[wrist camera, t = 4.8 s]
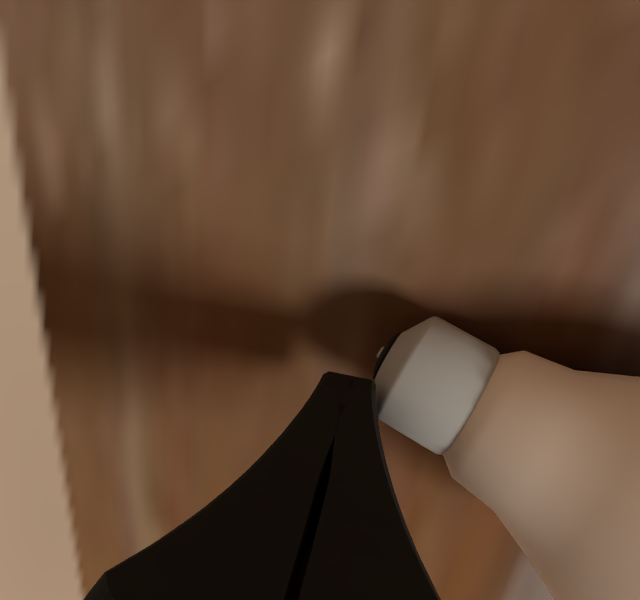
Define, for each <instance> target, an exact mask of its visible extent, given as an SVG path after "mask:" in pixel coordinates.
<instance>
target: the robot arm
mask: <svg viewBox="0 0 640 600" xmlns="http://www.w3.org/2000/svg"><path fill="white" fill-rule="evenodd" d="M84 600H441V599H440V597H439V596H438V594H437V592H436V590H435V588H434V585H433V583H432V581H431V579H430V577H429V575H428V573H427V571H426V569H425V567H424V565H423V563H422V561H421V559H420V557H419V555H418V552H417V550H416V548H415V545H414V543H413V540H412V538H411V536H410V533H409V531H408V528H407V526H406V523H405V520H404V518H403V515H402V513H401V510H400V507H399V504H398V501H397V498H396V495H395V492H394V489H393V485H392V482H391V478H390V475H389V472H388V468H387V464H386V460H385V456H384V451H383V447H382V442H381V437H380V432H379V426H378V419H377V411H376V385H375V383H374V382H373V381H372V380H368V379H363V378H359V377H354V376H349V375H344V374H339V373H334V372H327V373H325V374H323V376H322V378H321V380H320V382H319V384H318V385H317V387H316V389H315V390H314V392H313V393H312V395H311V396H310V398H309V399H308V401H307V402H306V404H305V405H304V406H303V408H302V409H301V410H300V412H299V413H298V414H297V416H296V417H295V418H294V419H293V421H292V422H291V423H290V424H289V426H288V427H287V428H286V429H285V431H284V432H283V433H282V434H281V435H280V436H279V437H278V439H277V440H276V441H275V442H274V443H273V444H272V445H271V446H270V447H269V448H268V449H267V451H266V452H265V453H264V454H263V455H262V456H261V457H260V458H259V459H258V460H257V461H256V462H255V463H254V464H253V465H252V466H251V467H250V468H249V469H248V470H247V471H246V472H245V473H244V474H243V475H242V476H241V477H239V478H238V479H237V480H236V481H235V482H234V483H233V484H232V485H231V486H230V487H228V488H227V489H226V490H225V491H224V492H222V493H221V494H220V495H219V496H218V497H216V498H215V499H214V500H213V501H212V502H210V503H209V504H208V505H207V506H205V507H204V508H203V509H202V510H200V511H199V512H198V513H196V514H195V515H194V516H192V517H191V518H189V519H188V520H187V521H185V522H184V523H182V524H181V525H179V526H178V527H177V528H175V529H174V530H172V531H171V532H169V533H168V534H166V535H165V536H164V537H162V538H161V539H159V540H158V541H156V542H155V543H153V544H152V545H150V546H148V547H147V548H145V549H143V550H142V551H140V552H138V553H137V554H135V555H133V556H131V557H130V558H128V559H126V560H125V561H123V562H121V563H120V564H118V565H116V566H115V567H113V568H111V569H109V570H108V571H106V572H105V573H104V574H103V575H102V576H101V578H100V579H99V580H98V581H97V583H96V584H95V585H94V586H93V588H92V589H91V590H90V592H89V593H88V594H87V596H86V597H85V599H84Z"/></svg>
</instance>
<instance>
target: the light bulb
mask: <svg viewBox="0 0 640 600" xmlns="http://www.w3.org/2000/svg"><path fill="white" fill-rule="evenodd" d="M377 358H378V361H377V363H376V366H375V369H374V375H373V379H374V380H375V385H376V411H377V417H378V419H379V420H381V421H382V422H384V423H386V424H387V425H389V426H391V427H392V428H394V429H395V430H397V431H399V432H400V433H402V434H404V435H405V436H407V437H409V438H410V439H412V440H414V441H415V442H417V443H419V444H420V445H422V446H423V447H425V448H427V449H428V450H430V451H432V452H433V453H435V454H439V455H443V456H444V459H445V461H446V464H447V467H448V469H449V472H450V475H451V477H452V478H453V479H454V480H456V481H457V482H458V483H459V484H461V485H462V486H463V487H464V488H466V489H467V490H468V491H469V492H471V493H472V494H473V495H474V496H476V497H477V498H478V499H479V500H481V501H482V502H483V503H484V504H486V505H487V506H488V507H489V508H491V509H492V510H493V511H494V512H495V514H496V515H497V516H498V518H499V519H500V520H501V522H502V523H503V524H504V526H505V527H506V529H507V530H508V531H509V533H510V534H511V535H512V537H513V538H514V539H515V541H516V542H517V544H518V545H519V546H520V548H521V549H522V550H523V552H524V553H525V555H526V556H527V557H528V559H529V560H530V562H531V563H532V565H533V566H534V568H535V569H536V571H537V573H538V574H539V576H540V577H541V579H542V580H543V582H544V584H545V585H546V587H547V588H548V590H549V591H550V593H551V594H552V596H553V598H554V599H555V600H640V377H636V376H626V375H617V374H607V373H598V372H588V371H578V370H573V369H571V368H568V367H565V366H563V365H560V364H558V363H555V362H552V361H550V360H547V359H545V358H542V357H540V356H537V355H534V354H532V353H529V352H527V351H518V352H512V353H506V354H500V355H499V352H498V350H497V349H496V348H494V347H492V346H490V345H488V344H487V343H485V342H483V341H481V340H479V339H478V338H476V337H474V336H472V335H470V334H468V333H467V332H465V331H463V330H461V329H459V328H457V327H456V326H454V325H452V324H450V323H448V322H446V321H445V320H443V319H441V318H439V317H436V316H434V317H431V318H429V319H427V320H425V321H423V322H421V323H419V324H417V325H416V326H414V327H412V328H410V329H408V330H406V331H404V332H402V333H398V334H397V335H396V336H394V337H393V338H392V339H391V340H390V341H389V343H388V344H387V345H386V346H385V347H384V346H383V347H382V348H381V349H380V351H379V352H378V354H377Z"/></svg>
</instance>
